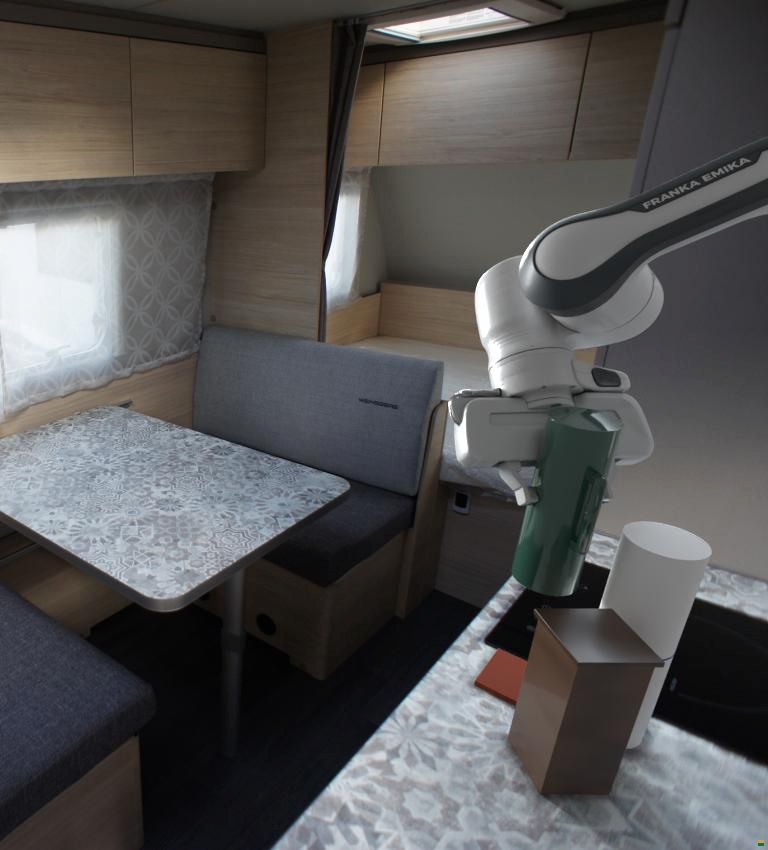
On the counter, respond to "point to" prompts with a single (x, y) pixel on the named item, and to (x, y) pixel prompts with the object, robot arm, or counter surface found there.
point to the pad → (503, 676)
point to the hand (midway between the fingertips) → (566, 503)
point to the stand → (580, 699)
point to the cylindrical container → (655, 594)
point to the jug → (565, 498)
